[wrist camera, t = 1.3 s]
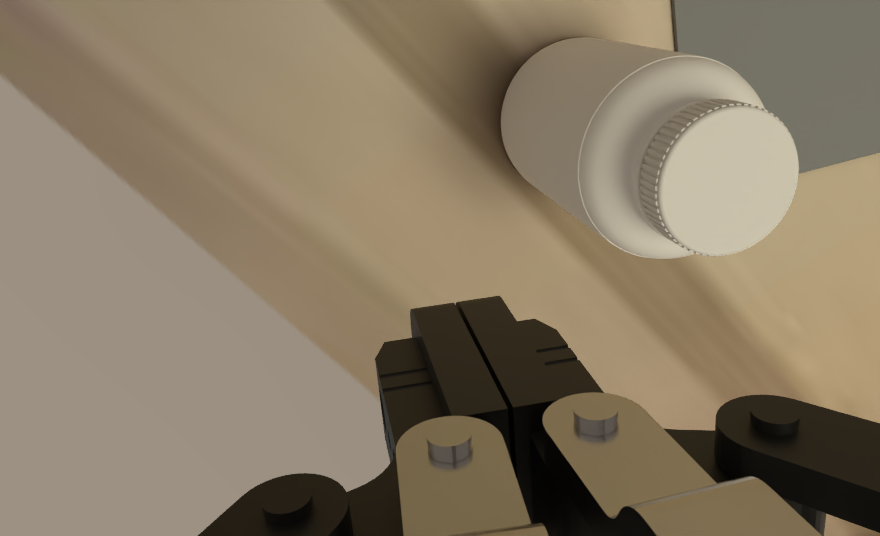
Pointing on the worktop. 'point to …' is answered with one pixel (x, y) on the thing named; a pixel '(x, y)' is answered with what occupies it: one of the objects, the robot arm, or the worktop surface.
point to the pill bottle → (650, 147)
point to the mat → (798, 66)
